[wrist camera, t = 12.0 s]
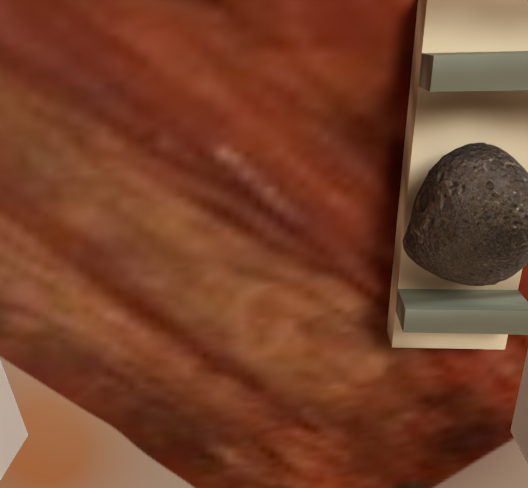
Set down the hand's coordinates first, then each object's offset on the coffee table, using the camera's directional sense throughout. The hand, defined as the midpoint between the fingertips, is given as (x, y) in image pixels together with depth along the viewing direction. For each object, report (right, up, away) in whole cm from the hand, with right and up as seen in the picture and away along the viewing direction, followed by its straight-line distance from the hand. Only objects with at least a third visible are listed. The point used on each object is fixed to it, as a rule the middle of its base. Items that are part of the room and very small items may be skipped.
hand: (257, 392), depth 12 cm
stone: (+14, +7, +22) cm, 27 cm away
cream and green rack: (+15, +8, +24) cm, 30 cm away
